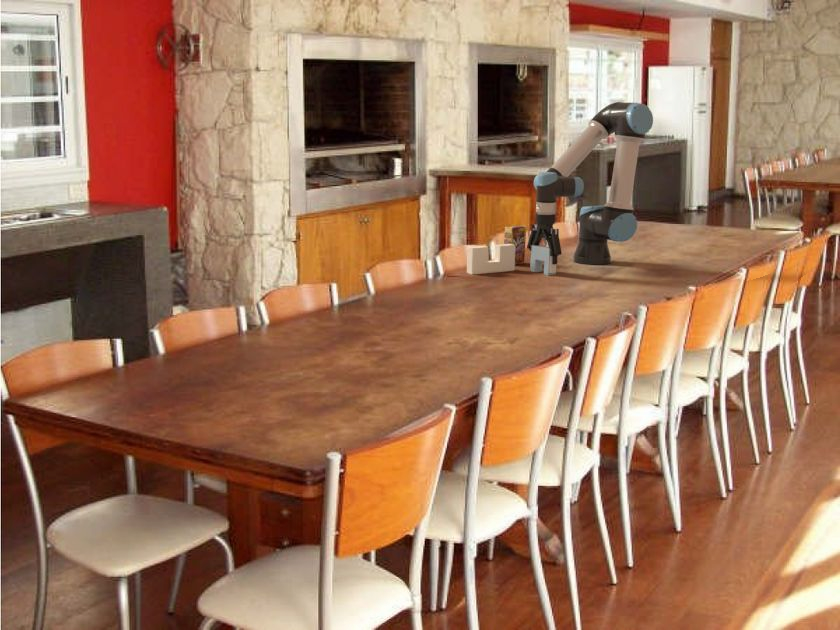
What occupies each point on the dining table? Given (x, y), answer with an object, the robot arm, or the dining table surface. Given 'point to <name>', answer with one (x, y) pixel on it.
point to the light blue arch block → (540, 259)
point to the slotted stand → (501, 262)
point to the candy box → (516, 241)
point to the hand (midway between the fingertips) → (543, 270)
